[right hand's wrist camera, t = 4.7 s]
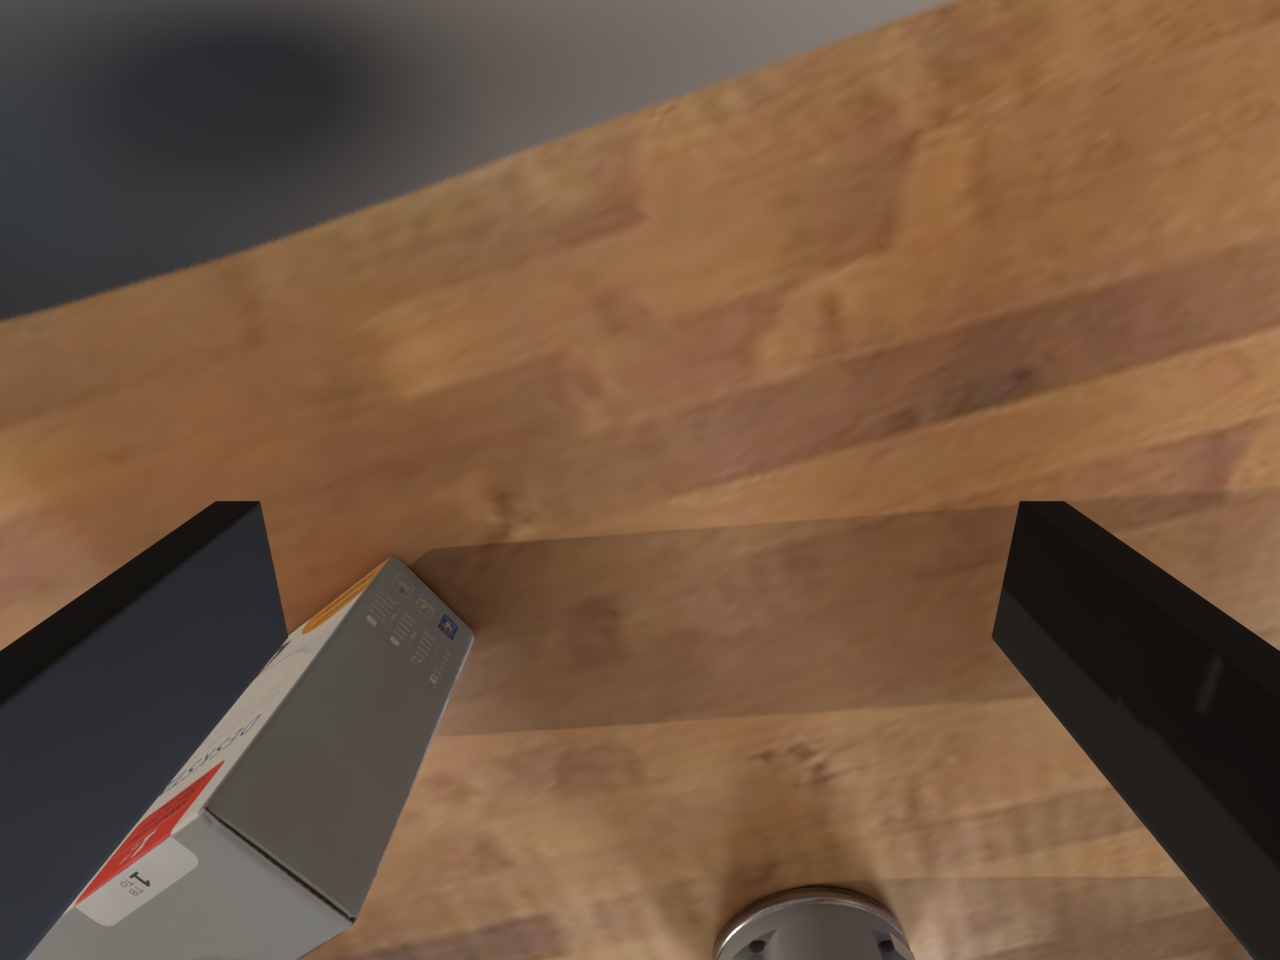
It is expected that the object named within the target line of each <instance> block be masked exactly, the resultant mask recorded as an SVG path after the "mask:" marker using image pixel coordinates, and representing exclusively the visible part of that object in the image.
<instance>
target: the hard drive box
mask: <svg viewBox="0 0 1280 960" xmlns="http://www.w3.org/2000/svg"><path fill="white" fill-rule="evenodd" d="M473 634H474V632H473V631H472V630H471V629H470V628H469V627H468V626H467V625H466V624H465V623H464V622H463V621H462V620H461V619H460V618H459V617H458V616H457V615H456V614H455V613H454V612H453V611H452V610H451V609H450V608H449V607H448V606H447V605H446V604H445V603H444V602H443V601H442V600H441V599H440V598H439V597H437V596H436V595H435V594H434V593H433V592H432V591H431V590H430V589H429V588H428V587H427V586H426V585H425V584H424V583H423V582H422V581H421V580H420V579H419V578H418V577H417V576H416V575H415V574H414V573H413V572H412V571H411V570H410V569H409V568H408V567H407V566H406V565H405V564H404V563H403V562H402V561H401V560H399V559H398V558H397V557H396V556H391V557H389V558H388V559H387V560H385V561H384V562H383V563H381V564H380V565H379V566H377V567H376V568H375V569H373V570H372V571H371V572H370V573H368V574H367V575H366V576H365V577H363V578H362V579H361V580H359V581H358V582H357V583H355V584H354V585H353V586H351V587H350V588H349V589H348V590H346V591H345V592H344V593H343V594H341V595H340V596H339V597H337V598H336V599H335V600H334V601H332V602H331V603H330V604H329V605H327V606H326V607H325V608H323V609H322V610H321V611H319V612H318V613H317V614H316V615H314V616H313V617H312V618H311V619H309V620H308V621H307V622H305V623H304V624H303V625H301V626H300V627H299V628H298V629H296V630H295V631H294V632H293V633H291V634H290V635H289V636H288V639H287V640H286V641H285V642H284V644H283V645H282V646H281V647H280V648H279V650H278V651H277V652H276V653H275V655H274V656H273V657H272V658H271V660H270V661H269V662H268V663H267V664H266V666H265V667H264V668H263V669H262V671H261V672H260V673H259V674H258V675H257V677H256V678H255V679H254V680H253V682H252V683H251V684H250V685H249V686H248V688H247V689H246V690H245V691H244V693H243V694H242V695H241V696H240V698H239V699H238V700H237V701H236V702H235V704H234V705H233V706H232V707H231V709H230V710H229V711H228V712H227V713H226V715H225V716H224V717H223V718H222V720H221V721H220V722H219V723H218V725H217V726H216V727H215V728H214V729H213V731H212V732H211V733H210V734H209V736H208V737H207V738H206V739H205V740H204V742H203V743H202V744H201V745H200V747H199V748H198V749H197V750H196V752H195V753H194V754H193V755H192V756H191V758H190V759H189V760H188V761H187V763H186V764H185V765H184V766H183V767H182V769H181V770H180V771H179V772H178V774H177V775H176V776H175V777H174V778H173V780H172V781H171V782H170V783H169V785H168V786H167V787H166V788H165V790H164V791H163V792H162V793H161V794H160V796H159V797H158V798H157V799H156V801H155V802H154V803H153V804H152V805H151V807H150V808H149V809H148V810H147V812H146V813H145V814H144V815H143V817H142V818H141V819H140V820H139V821H138V823H137V824H136V825H135V826H134V828H133V829H132V830H131V831H130V832H129V834H128V835H127V836H126V837H125V839H124V840H123V841H122V842H121V844H120V845H119V846H118V847H117V848H116V850H115V851H114V852H113V853H112V855H111V856H110V857H109V858H108V859H107V861H106V862H105V863H104V864H103V866H102V867H101V868H100V869H99V870H98V872H97V873H96V874H95V875H94V877H93V878H92V879H91V880H90V882H89V883H88V884H87V885H86V886H85V888H84V889H83V890H82V891H81V893H80V894H79V895H78V896H77V897H76V899H75V900H74V901H73V902H72V904H71V905H70V906H69V907H68V909H67V910H66V911H65V912H64V913H63V915H62V916H61V917H60V918H59V920H58V921H57V922H56V923H55V924H54V926H53V927H52V928H51V929H50V931H49V932H48V933H47V934H46V936H45V937H44V938H43V939H42V940H41V942H40V943H39V944H38V945H37V947H36V948H35V949H34V950H33V951H32V953H31V954H30V955H29V956H28V958H27V959H26V960H299V959H301V958H302V957H304V956H306V955H307V954H309V953H310V952H312V951H314V950H315V949H317V948H318V947H320V946H321V945H323V944H324V943H326V942H328V941H329V940H331V939H332V938H334V937H335V936H337V935H338V934H340V933H341V932H343V931H344V930H346V929H348V928H349V927H351V926H352V925H353V924H354V922H355V920H356V919H357V917H358V915H359V912H360V910H361V908H362V906H363V903H364V901H365V898H366V896H367V894H368V891H369V889H370V887H371V884H372V882H373V880H374V878H375V876H376V874H377V870H378V868H379V865H380V863H381V861H382V858H383V856H384V853H385V851H386V849H387V846H388V844H389V841H390V839H391V836H392V834H393V832H394V829H395V827H396V824H397V822H398V820H399V817H400V815H401V812H402V810H403V808H404V805H405V803H406V801H407V798H408V796H409V793H410V791H411V789H412V786H413V784H414V781H415V779H416V777H417V774H418V772H419V770H420V767H421V765H422V763H423V760H424V758H425V756H426V753H427V751H428V749H429V746H430V744H431V741H432V739H433V737H434V734H435V732H436V729H437V727H438V725H439V722H440V720H441V718H442V715H443V713H444V711H445V708H446V706H447V703H448V701H449V699H450V696H451V694H452V692H453V689H454V687H455V684H456V682H457V680H458V677H459V675H460V673H461V670H462V668H463V666H464V663H465V661H466V658H467V656H468V654H469V651H470V649H471V646H472V644H473V641H474V638H475V637H474V636H473Z"/></svg>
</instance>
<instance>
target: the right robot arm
mask: <svg viewBox="0 0 1280 960" xmlns="http://www.w3.org/2000/svg"><path fill="white" fill-rule="evenodd" d="M287 639H288V634H287V629H286V624H285V619H284V614H283V610H282V605H281V600H280V595H279V590H278V585H277V581H276V576H275V571H274V566H273V561H272V556H271V552H270V547H269V542H268V537H267V532H266V527H265V523H264V518H263V513H262V508H261V503H260V501H215V502H214V503H213V504H211V505H210V506H208V507H207V508H205V509H204V510H203V511H201V512H200V513H198V514H197V515H195V516H194V517H192V518H191V519H190V520H188V521H187V522H185V523H184V524H182V525H181V526H180V527H178V528H177V529H175V530H174V531H172V532H171V533H169V534H168V535H167V536H165V537H164V538H162V539H161V540H159V541H158V542H157V543H155V544H154V545H152V546H151V547H149V548H148V549H146V550H145V551H144V552H142V553H141V554H139V555H138V556H136V557H135V558H134V559H132V560H131V561H129V562H128V563H126V564H125V565H123V566H122V567H121V568H119V569H118V570H116V571H115V572H113V573H112V574H111V575H109V576H108V577H106V578H105V579H103V580H102V581H100V582H99V583H98V584H96V585H95V586H93V587H92V588H90V589H89V590H88V591H86V592H85V593H83V594H82V595H80V596H79V597H77V598H76V599H75V600H73V601H72V602H70V603H69V604H67V605H66V606H65V607H63V608H62V609H60V610H59V611H57V612H56V613H54V614H53V615H52V616H50V617H49V618H47V619H46V620H44V621H43V622H42V623H40V624H39V625H37V626H36V627H34V628H33V629H31V630H30V631H29V632H27V633H26V634H24V635H23V636H21V637H20V638H19V639H17V640H16V641H14V642H13V643H11V644H10V645H8V646H7V647H6V648H4V649H3V650H1V651H0V960H26V959H27V958H28V956H29V955H30V954H31V953H32V951H33V950H34V949H35V948H36V947H37V945H38V944H39V943H40V942H41V940H42V939H43V938H44V937H45V936H46V934H47V933H48V932H49V931H50V929H51V928H52V927H53V926H54V924H55V923H56V922H57V921H58V920H59V918H60V917H61V916H62V915H63V913H64V912H65V911H66V910H67V909H68V907H69V906H70V905H71V904H72V902H73V901H74V900H75V899H76V897H77V896H78V895H79V894H80V893H81V891H82V890H83V889H84V888H85V886H86V885H87V884H88V883H89V882H90V880H91V879H92V878H93V877H94V875H95V874H96V873H97V872H98V870H99V869H100V868H101V867H102V866H103V864H104V863H105V862H106V861H107V859H108V858H109V857H110V856H111V855H112V853H113V852H114V851H115V850H116V848H117V847H118V846H119V845H120V844H121V842H122V841H123V840H124V839H125V837H126V836H127V835H128V834H129V832H130V831H131V830H132V829H133V828H134V826H135V825H136V824H137V823H138V821H139V820H140V819H141V818H142V817H143V815H144V814H145V813H146V812H147V810H148V809H149V808H150V807H151V805H152V804H153V803H154V802H155V801H156V799H157V798H158V797H159V796H160V794H161V793H162V792H163V791H164V790H165V788H166V787H167V786H168V785H169V783H170V782H171V781H172V780H173V778H174V777H175V776H176V775H177V774H178V772H179V771H180V770H181V769H182V767H183V766H184V765H185V764H186V763H187V761H188V760H189V759H190V758H191V756H192V755H193V754H194V753H195V752H196V750H197V749H198V748H199V747H200V745H201V744H202V743H203V742H204V740H205V739H206V738H207V737H208V736H209V734H210V733H211V732H212V731H213V729H214V728H215V727H216V726H217V725H218V723H219V722H220V721H221V720H222V718H223V717H224V716H225V715H226V713H227V712H228V711H229V710H230V709H231V707H232V706H233V705H234V704H235V702H236V701H237V700H238V699H239V698H240V696H241V695H242V694H243V693H244V691H245V690H246V689H247V688H248V686H249V685H250V684H251V683H252V682H253V680H254V679H255V678H256V677H257V675H258V674H259V673H260V672H261V671H262V669H263V668H264V667H265V666H266V664H267V663H268V662H269V661H270V660H271V658H272V657H273V656H274V655H275V653H276V652H277V651H278V650H279V648H280V647H281V646H282V645H283V644H284V642H285V641H286V640H287ZM992 639H993V640H994V641H995V642H996V644H997V645H998V646H999V647H1000V648H1001V650H1002V651H1003V652H1004V653H1005V655H1006V656H1007V657H1008V658H1009V660H1010V661H1011V662H1012V663H1013V664H1014V666H1015V667H1016V668H1017V669H1018V671H1019V672H1020V673H1021V674H1022V675H1023V677H1024V678H1025V679H1026V680H1027V682H1028V683H1029V684H1030V685H1031V686H1032V688H1033V689H1034V690H1035V691H1036V693H1037V694H1038V695H1039V696H1040V698H1041V699H1042V700H1043V701H1044V702H1045V704H1046V705H1047V706H1048V707H1049V709H1050V710H1051V711H1052V712H1053V713H1054V715H1055V716H1056V717H1057V718H1058V720H1059V721H1060V722H1061V723H1062V725H1063V726H1064V727H1065V728H1066V729H1067V731H1068V732H1069V733H1070V734H1071V736H1072V737H1073V738H1074V739H1075V740H1076V742H1077V743H1078V744H1079V745H1080V747H1081V748H1082V749H1083V750H1084V752H1085V753H1086V754H1087V755H1088V756H1089V758H1090V759H1091V760H1092V761H1093V763H1094V764H1095V765H1096V766H1097V767H1098V769H1099V770H1100V771H1101V772H1102V774H1103V775H1104V776H1105V777H1106V778H1107V780H1108V781H1109V782H1110V783H1111V785H1112V786H1113V787H1114V788H1115V790H1116V791H1117V792H1118V793H1119V794H1120V796H1121V797H1122V798H1123V799H1124V801H1125V802H1126V803H1127V804H1128V805H1129V807H1130V808H1131V809H1132V810H1133V812H1134V813H1135V814H1136V815H1137V817H1138V818H1139V819H1140V820H1141V821H1142V823H1143V824H1144V825H1145V826H1146V828H1147V829H1148V830H1149V831H1150V832H1151V834H1152V835H1153V836H1154V837H1155V839H1156V840H1157V841H1158V842H1159V844H1160V845H1161V846H1162V847H1163V848H1164V850H1165V851H1166V852H1167V853H1168V855H1169V856H1170V857H1171V858H1172V859H1173V861H1174V862H1175V863H1176V864H1177V866H1178V867H1179V868H1180V869H1181V870H1182V872H1183V873H1184V874H1185V875H1186V877H1187V878H1188V879H1189V880H1190V882H1191V883H1192V884H1193V885H1194V886H1195V888H1196V889H1197V890H1198V891H1199V893H1200V894H1201V895H1202V896H1203V897H1204V899H1205V900H1206V901H1207V902H1208V904H1209V905H1210V906H1211V907H1212V909H1213V910H1214V911H1215V912H1216V913H1217V915H1218V916H1219V917H1220V918H1221V920H1222V921H1223V922H1224V923H1225V924H1226V926H1227V927H1228V928H1229V929H1230V931H1231V932H1232V933H1233V934H1234V936H1235V937H1236V938H1237V939H1238V940H1239V942H1240V943H1241V944H1242V945H1243V947H1244V948H1245V949H1246V950H1247V951H1248V953H1249V954H1250V955H1251V956H1252V958H1253V959H1254V960H1280V651H1279V650H1277V649H1276V648H1274V647H1273V646H1272V645H1270V644H1269V643H1267V642H1266V641H1264V640H1263V639H1261V638H1260V637H1259V636H1257V635H1256V634H1254V633H1253V632H1251V631H1250V630H1249V629H1247V628H1246V627H1244V626H1243V625H1241V624H1240V623H1238V622H1237V621H1236V620H1234V619H1233V618H1231V617H1230V616H1228V615H1227V614H1226V613H1224V612H1223V611H1221V610H1220V609H1218V608H1217V607H1215V606H1214V605H1213V604H1211V603H1210V602H1208V601H1207V600H1205V599H1204V598H1203V597H1201V596H1200V595H1198V594H1197V593H1195V592H1194V591H1192V590H1191V589H1190V588H1188V587H1187V586H1185V585H1184V584H1182V583H1181V582H1180V581H1178V580H1177V579H1175V578H1174V577H1172V576H1171V575H1169V574H1168V573H1167V572H1165V571H1164V570H1162V569H1161V568H1159V567H1158V566H1157V565H1155V564H1154V563H1152V562H1151V561H1149V560H1148V559H1146V558H1145V557H1144V556H1142V555H1141V554H1139V553H1138V552H1136V551H1135V550H1134V549H1132V548H1131V547H1129V546H1128V545H1126V544H1125V543H1123V542H1122V541H1121V540H1119V539H1118V538H1116V537H1115V536H1113V535H1112V534H1111V533H1109V532H1108V531H1106V530H1105V529H1103V528H1102V527H1100V526H1099V525H1098V524H1096V523H1095V522H1093V521H1092V520H1090V519H1089V518H1088V517H1086V516H1085V515H1083V514H1082V513H1080V512H1079V511H1077V510H1076V509H1075V508H1073V507H1072V506H1070V505H1069V504H1067V503H1066V502H1065V501H1020V503H1019V508H1018V513H1017V518H1016V523H1015V527H1014V532H1013V537H1012V542H1011V547H1010V552H1009V556H1008V561H1007V566H1006V571H1005V576H1004V581H1003V585H1002V590H1001V595H1000V600H999V605H998V610H997V614H996V619H995V624H994V629H993V634H992ZM713 960H915V958H914V955H913V953H912V952H911V950H910V947H909V944H908V942H907V939H906V936H905V933H904V931H903V929H902V927H901V925H900V923H899V922H898V920H897V919H896V918H895V917H894V915H893V914H892V913H891V912H890V911H889V910H887V909H886V908H885V907H884V906H882V905H881V904H879V903H878V902H876V901H874V900H873V899H871V898H868V897H866V896H864V895H861V894H858V893H855V892H852V891H848V890H843V889H838V888H829V887H807V888H798V889H792V890H787V891H783V892H779V893H776V894H773V895H770V896H768V897H765V898H763V899H760V900H758V901H757V902H755V903H753V904H751V905H749V906H748V907H746V908H745V909H743V910H742V911H741V912H739V913H738V914H737V915H736V916H734V917H733V918H732V919H731V920H730V921H729V922H728V924H727V925H726V926H725V927H724V929H723V930H722V931H721V933H720V935H719V937H718V939H717V941H716V944H715V947H714V951H713Z"/></svg>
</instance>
